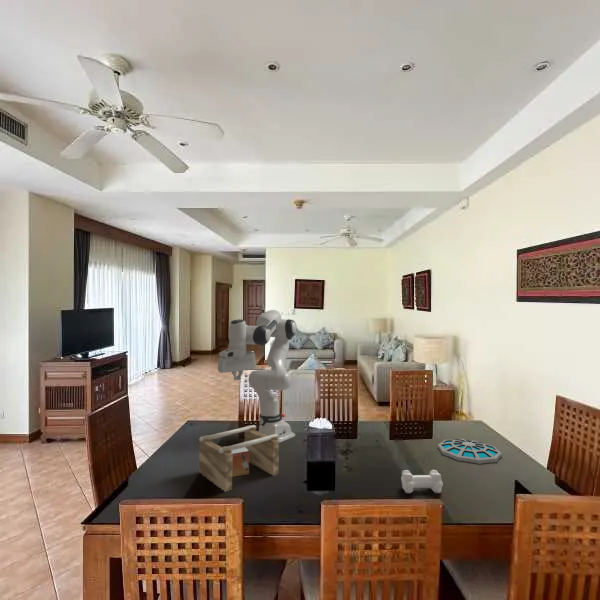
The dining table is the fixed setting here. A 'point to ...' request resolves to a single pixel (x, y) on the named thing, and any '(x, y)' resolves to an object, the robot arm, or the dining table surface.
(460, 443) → the decorative platform
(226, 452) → the rack
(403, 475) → the dog bone
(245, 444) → the off-white rod
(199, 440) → the pale rod
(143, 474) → the dining table surface
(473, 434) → the dining table surface
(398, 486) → the dining table surface
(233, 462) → the small box
